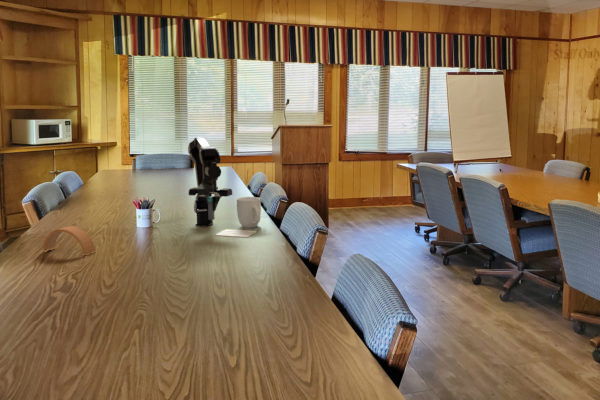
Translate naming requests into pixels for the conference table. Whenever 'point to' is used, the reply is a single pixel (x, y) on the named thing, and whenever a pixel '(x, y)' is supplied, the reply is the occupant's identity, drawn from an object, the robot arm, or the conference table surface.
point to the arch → (74, 231)
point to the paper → (236, 233)
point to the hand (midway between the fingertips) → (211, 211)
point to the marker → (210, 208)
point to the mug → (249, 211)
